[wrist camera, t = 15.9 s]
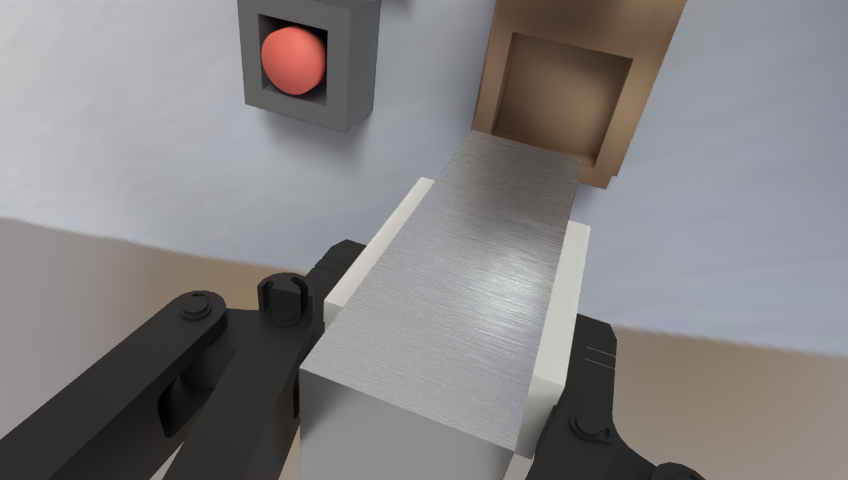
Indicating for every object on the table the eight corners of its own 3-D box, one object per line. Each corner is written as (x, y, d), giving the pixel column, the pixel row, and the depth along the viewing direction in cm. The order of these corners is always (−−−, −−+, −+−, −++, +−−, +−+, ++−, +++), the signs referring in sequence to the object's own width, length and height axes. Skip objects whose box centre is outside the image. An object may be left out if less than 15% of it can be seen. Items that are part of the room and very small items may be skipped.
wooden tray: (545, -225, 23) (533, -238, 21) (762, -199, 21) (776, -209, 19) (474, 130, 33) (460, 149, 31) (617, 169, 31) (615, 192, 29)
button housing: (276, -26, 32) (235, -17, 29) (380, -3, 31) (350, 10, 27) (280, 85, 36) (245, 103, 33) (372, 110, 35) (345, 132, 32)
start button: (274, 18, 30) (259, 23, 29) (330, 32, 30) (317, 37, 28) (277, 79, 32) (263, 86, 31) (328, 93, 32) (316, 101, 31)
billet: (472, 129, 19) (298, 367, 9) (582, 159, 18) (514, 451, 9) (454, 221, 21) (301, 484, 12) (551, 250, 20) (470, 559, 11)
